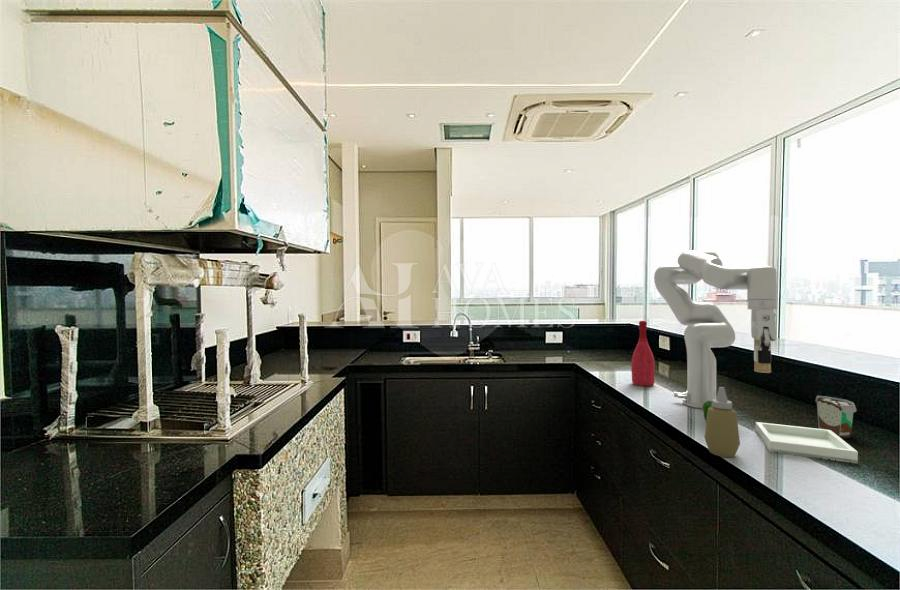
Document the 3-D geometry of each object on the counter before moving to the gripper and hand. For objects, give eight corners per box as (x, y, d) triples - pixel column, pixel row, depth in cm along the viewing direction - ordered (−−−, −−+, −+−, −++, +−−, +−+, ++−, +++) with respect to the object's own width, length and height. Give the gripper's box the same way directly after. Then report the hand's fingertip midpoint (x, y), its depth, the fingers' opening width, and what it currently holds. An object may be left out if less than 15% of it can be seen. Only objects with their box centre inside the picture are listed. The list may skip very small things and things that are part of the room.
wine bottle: (658, 386, 189) (658, 321, 188) (637, 386, 189) (636, 321, 189) (648, 382, 199) (648, 319, 198) (628, 382, 199) (627, 320, 198)
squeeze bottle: (697, 448, 116) (697, 384, 115) (724, 447, 116) (724, 383, 116) (718, 460, 107) (718, 391, 107) (747, 459, 108) (747, 390, 108)
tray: (770, 451, 113) (770, 440, 113) (755, 431, 129) (755, 421, 129) (857, 463, 105) (857, 451, 105) (830, 440, 121) (830, 430, 121)
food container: (868, 440, 120) (868, 406, 120) (843, 439, 121) (843, 405, 121) (837, 427, 132) (837, 396, 132) (815, 426, 133) (815, 395, 133)
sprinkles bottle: (758, 370, 135) (757, 329, 135) (774, 372, 131) (774, 330, 131) (750, 371, 133) (750, 329, 132) (767, 373, 129) (766, 330, 129)
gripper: (784, 305, 122) (784, 367, 122) (769, 304, 138) (770, 358, 138) (753, 305, 126) (753, 365, 126) (742, 304, 141) (742, 357, 141)
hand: (762, 361), depth 132 cm, fingers closed on sprinkles bottle, 4 cm apart
